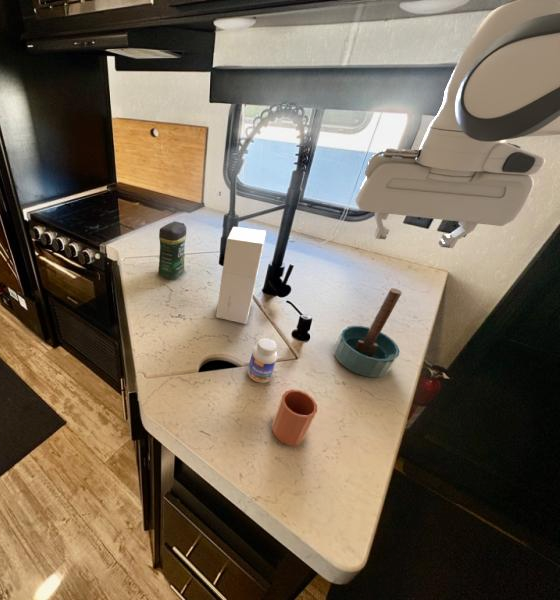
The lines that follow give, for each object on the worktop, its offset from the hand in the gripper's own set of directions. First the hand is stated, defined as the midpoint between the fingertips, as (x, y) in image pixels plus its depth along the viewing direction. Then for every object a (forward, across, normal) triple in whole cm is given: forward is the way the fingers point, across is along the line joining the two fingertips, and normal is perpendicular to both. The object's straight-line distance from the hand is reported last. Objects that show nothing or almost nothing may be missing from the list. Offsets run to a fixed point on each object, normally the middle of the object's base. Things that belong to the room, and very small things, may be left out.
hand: (411, 242), depth 52 cm
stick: (+34, +5, +9) cm, 36 cm away
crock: (+35, -11, -18) cm, 41 cm away
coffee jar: (+35, -53, +32) cm, 71 cm away
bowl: (+35, +5, +9) cm, 36 cm away
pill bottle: (+35, -18, -5) cm, 40 cm away
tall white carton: (+35, -28, +17) cm, 48 cm away
